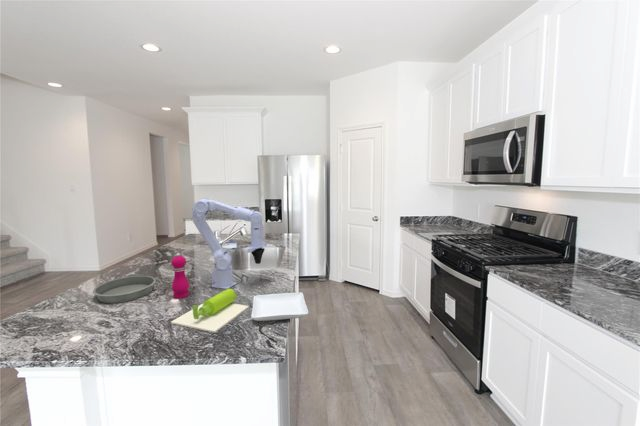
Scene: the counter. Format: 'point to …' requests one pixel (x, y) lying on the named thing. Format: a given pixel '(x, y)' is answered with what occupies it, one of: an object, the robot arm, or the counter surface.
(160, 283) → the counter surface
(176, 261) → the pepper mill
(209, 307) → the soap dispenser
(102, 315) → the counter surface
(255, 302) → the salad plate
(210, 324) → the mat
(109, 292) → the cake pan
